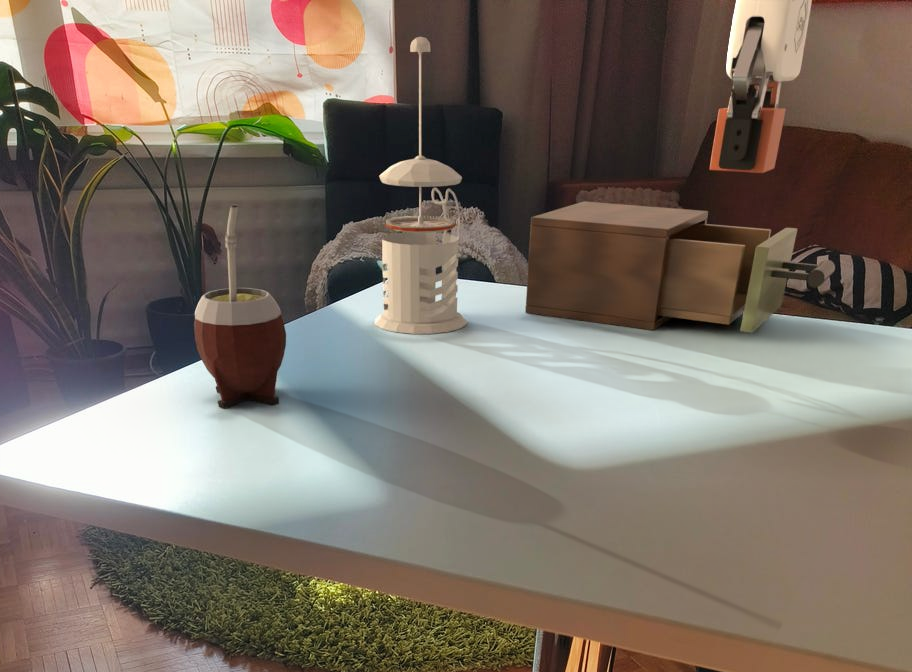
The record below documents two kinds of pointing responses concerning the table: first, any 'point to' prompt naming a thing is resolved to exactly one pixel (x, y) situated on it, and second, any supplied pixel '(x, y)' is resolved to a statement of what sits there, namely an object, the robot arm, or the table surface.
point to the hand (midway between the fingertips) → (743, 164)
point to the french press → (420, 249)
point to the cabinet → (602, 262)
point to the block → (766, 142)
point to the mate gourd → (240, 336)
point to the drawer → (731, 274)
